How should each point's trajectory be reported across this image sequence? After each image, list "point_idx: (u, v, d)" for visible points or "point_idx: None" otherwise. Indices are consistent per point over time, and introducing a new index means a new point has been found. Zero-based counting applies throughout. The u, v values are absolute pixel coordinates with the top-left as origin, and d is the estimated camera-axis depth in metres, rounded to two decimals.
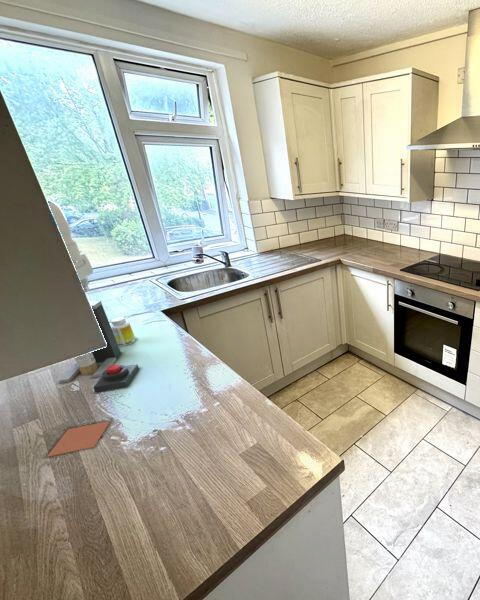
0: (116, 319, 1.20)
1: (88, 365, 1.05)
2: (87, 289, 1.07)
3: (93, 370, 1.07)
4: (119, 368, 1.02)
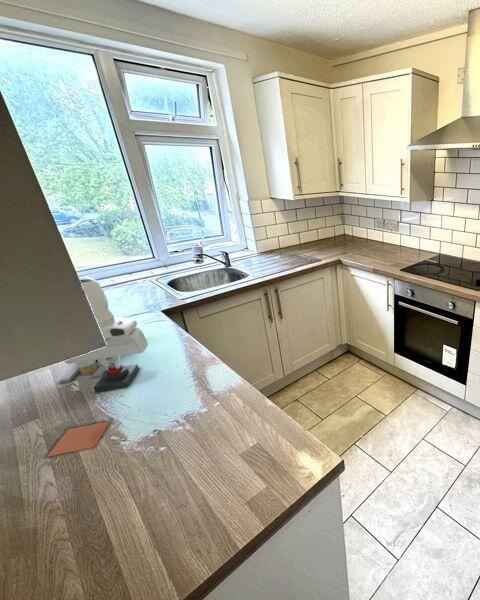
0: None
1: (88, 365, 1.05)
2: None
3: (93, 370, 1.07)
4: (120, 369, 1.02)
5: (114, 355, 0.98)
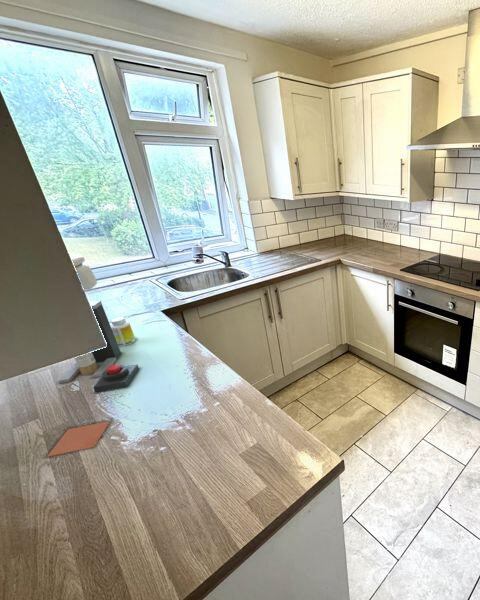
0: (116, 319, 1.20)
1: (88, 365, 1.05)
2: None
3: (93, 370, 1.07)
4: (119, 368, 1.02)
5: None
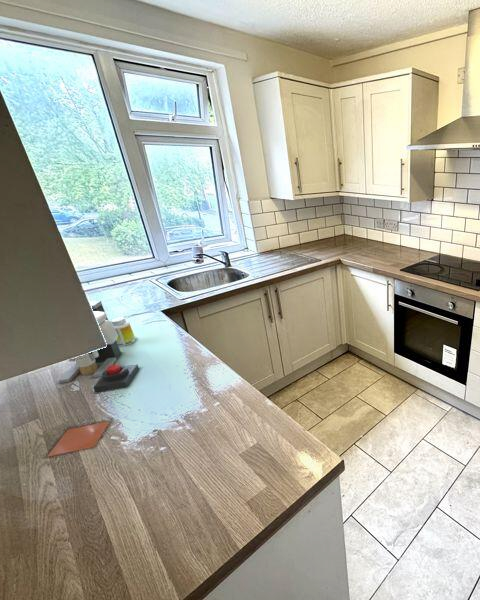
0: (116, 319, 1.20)
1: (88, 365, 1.05)
2: None
3: (93, 370, 1.07)
4: (119, 368, 1.02)
5: None
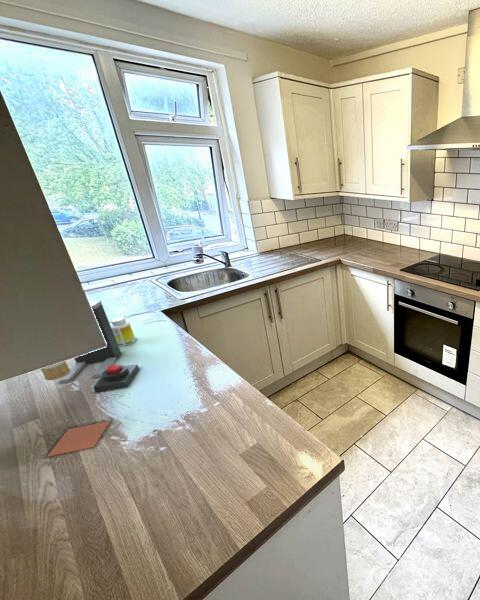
0: (116, 319, 1.20)
1: (54, 366, 0.77)
2: None
3: (62, 373, 0.78)
4: (119, 368, 1.02)
5: None
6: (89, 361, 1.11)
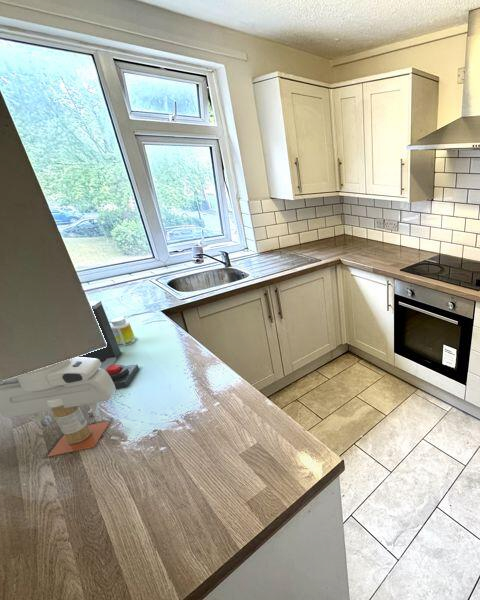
0: (116, 319, 1.20)
1: (77, 431, 0.79)
2: None
3: (83, 436, 0.81)
4: (119, 368, 1.02)
5: (70, 405, 0.77)
6: None
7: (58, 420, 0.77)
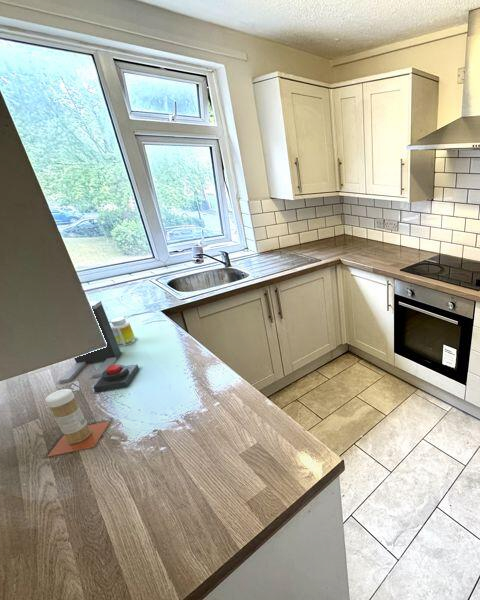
0: (116, 319, 1.20)
1: (77, 431, 0.79)
2: None
3: (83, 436, 0.81)
4: (119, 368, 1.02)
5: None
6: (89, 361, 1.11)
7: (58, 420, 0.77)
